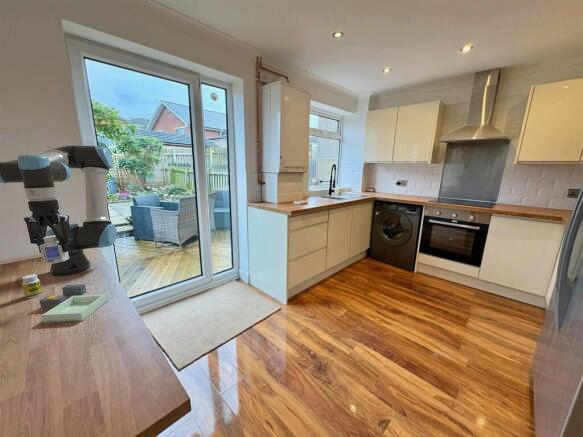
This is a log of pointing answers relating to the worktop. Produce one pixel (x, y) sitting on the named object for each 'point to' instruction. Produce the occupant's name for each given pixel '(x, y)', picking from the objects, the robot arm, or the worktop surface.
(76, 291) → the block
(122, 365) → the worktop surface
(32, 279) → the supplement bottle
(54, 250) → the pill bottle
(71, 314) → the tray
